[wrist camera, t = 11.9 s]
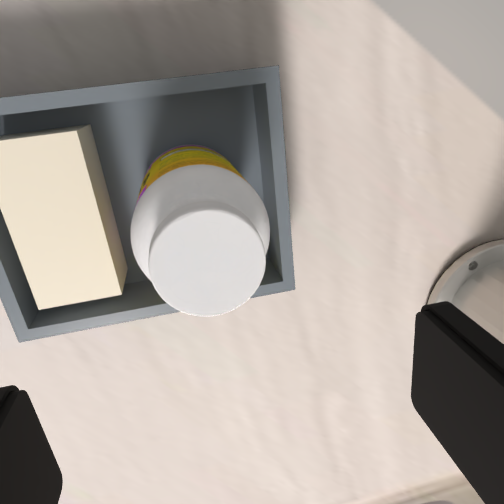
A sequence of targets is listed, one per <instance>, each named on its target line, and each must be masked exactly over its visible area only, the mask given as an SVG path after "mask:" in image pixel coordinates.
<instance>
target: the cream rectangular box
mask: <svg viewBox="0 0 504 504" xmlns="http://www.w3.org/2000/svg"><path fill="white" fill-rule="evenodd" d="M0 209H1V212H2V214H3V217H4V220H5V222H6V225H7V227H8V230H9V233H10V235H11V238H12V241H13V243H14V246H15V249H16V251H17V254H18V257H19V259H20V262H21V264H22V267H23V270H24V272H25V275H26V278H27V280H28V283H29V286H30V288H31V291H32V294H33V296H34V299H35V301H36V304H37V307H38V309H39V310H41V309H47V308H52V307H58V306H63V305H68V304H74V303H79V302H85V301H90V300H96V299H101V298H107V297H112V296H118V295H122V292H123V287H124V283H125V279H126V274H127V270H128V267H127V263H126V259H125V255H124V252H123V248H122V244H121V240H120V236H119V232H118V229H117V225H116V221H115V217H114V213H113V209H112V206H111V202H110V198H109V194H108V190H107V186H106V182H105V179H104V175H103V171H102V167H101V163H100V159H99V156H98V152H97V148H96V144H95V140H94V136H93V133H92V129H91V125H90V124H87V125H79V126H71V127H64V128H56V129H48V130H40V131H32V132H24V133H17V134H9V135H3V136H0Z"/></svg>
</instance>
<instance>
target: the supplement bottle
mask: <svg viewBox="0 0 504 504" xmlns="http://www.w3.org/2000/svg"><path fill="white" fill-rule="evenodd" d="M269 240H270V224H269V218H268V214H267V211H266V208H265V206H264V204H263V202H262V200H261V198H260V197H259V195H258V194H257V193H256V191H255V190H254V189H253V188H252V186H251V185H250V184H249V183H248V182H247V181H246V180H245V179H244V178H243V177H242V175H241V174H240V173H239V172H238V171H237V170H236V169H235V168H234V166H233V165H232V164H231V163H230V162H229V161H228V160H227V159H226V158H225V157H224V156H222V155H221V154H220V153H218V152H216V151H215V150H213V149H210V148H208V147H205V146H201V145H181V146H177V147H174V148H171V149H169V150H167V151H165V152H164V153H162V154H161V155H159V156H158V157H157V158H156V159H155V160H154V161H153V162H152V164H151V165H150V166H149V168H148V170H147V172H146V174H145V176H144V179H143V182H142V185H141V189H140V192H139V196H138V199H137V203H136V207H135V210H134V213H133V217H132V222H131V245H132V250H133V253H134V256H135V259H136V261H137V263H138V265H139V267H140V268H141V270H142V271H143V273H144V274H145V275H146V276H147V278H148V279H149V280H150V281H151V282H152V284H153V286H154V288H155V290H156V291H157V293H158V294H159V295H160V297H161V298H162V299H163V300H164V301H165V302H166V303H167V304H169V305H170V306H171V307H173V308H175V309H176V310H179V311H181V312H183V313H186V314H189V315H194V316H216V315H221V314H224V313H227V312H230V311H232V310H234V309H236V308H238V307H239V306H241V305H242V304H244V303H245V302H246V301H247V300H248V299H249V298H250V297H251V296H252V295H253V294H254V293H255V291H256V290H257V288H258V287H259V285H260V283H261V281H262V278H263V276H264V272H265V266H266V253H267V250H268V246H269Z"/></svg>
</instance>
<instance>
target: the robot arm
mask: <svg viewBox="0 0 504 504" xmlns="http://www.w3.org/2000/svg"><path fill="white" fill-rule="evenodd" d="M411 399H412V403H413V405H414V408H415V409H416V411H417V412H418V414H419V415H420V416H421V418H422V419H423V420H424V422H425V423H426V424H427V426H428V427H429V428H430V430H431V431H432V433H433V434H434V435H435V437H436V438H437V439H438V441H439V442H440V443H441V445H442V446H443V447H444V449H445V450H446V451H447V453H448V454H449V456H450V457H451V458H452V460H453V461H454V462H455V464H456V465H457V466H458V468H459V469H460V470H461V472H462V473H463V474H464V476H465V477H466V478H467V480H468V481H469V483H470V484H471V485H472V487H473V488H474V489H475V491H476V492H477V493H478V495H479V496H480V497H481V499H482V500H483V501H484V503H485V504H504V239H502V240H497V241H491V242H488V243H486V244H483V245H480V246H478V247H476V248H474V249H472V250H471V251H469V252H467V253H465V254H464V255H463V256H461V257H460V258H459V259H458V260H456V261H455V262H454V263H453V264H452V265H451V266H450V267H449V268H448V269H447V270H446V271H445V272H444V274H443V275H442V276H441V278H440V279H439V280H438V282H437V283H436V285H435V287H434V289H433V291H432V293H431V295H430V298H429V301H428V304H427V305H424V306H423V307H422V309H421V312H418V313H417V315H416V321H415V338H414V354H413V371H412V387H411ZM61 490H62V474H61V471H60V468H59V466H58V464H57V461H56V459H55V457H54V454H53V452H52V450H51V447H50V445H49V443H48V440H47V438H46V435H45V433H44V431H43V428H42V426H41V424H40V421H39V419H38V417H37V414H36V412H35V410H34V407H33V405H32V403H31V400H30V398H29V396H28V394H27V392H26V391H25V390H20V391H19V389H18V388H17V387H16V386H13V385H11V386H6V387H1V388H0V504H58V501H59V497H60V494H61Z"/></svg>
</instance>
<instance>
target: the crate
mask: <svg viewBox="0 0 504 504" xmlns="http://www.w3.org/2000/svg"><path fill="white" fill-rule="evenodd" d="M87 124H90V125H91V129H92V133H93V136H94V140H95V144H96V148H97V152H98V156H99V159H100V163H101V167H102V171H103V175H104V179H105V182H106V186H107V190H108V194H109V198H110V202H111V206H112V209H113V213H114V217H115V221H116V225H117V229H118V232H119V236H120V240H121V244H122V248H123V252H124V255H125V259H126V263H127V267H128V270H127V274H126V279H125V283H124V287H123V292H122V295H118V296H112V297H107V298H101V299H96V300H90V301H85V302H79V303H74V304H68V305H63V306H58V307H52V308H47V309H41V310H39V309H38V307H37V304H36V301H35V299H34V296H33V294H32V291H31V288H30V286H29V283H28V280H27V278H26V275H25V272H24V270H23V267H22V264H21V262H20V259H19V257H18V254H17V251H16V249H15V246H14V243H13V241H12V238H11V235H10V233H9V230H8V227H7V225H6V222H5V220H4V217H3V214H2V212H1V209H0V298H1V301H2V303H3V306H4V308H5V310H6V313H7V315H8V317H9V320H10V322H11V325H12V327H13V329H14V332H15V334H16V337H17V339H18V341H19V342H25V341H30V340H35V339H40V338H45V337H51V336H56V335H61V334H66V333H72V332H77V331H82V330H87V329H92V328H98V327H103V326H108V325H113V324H118V323H124V322H129V321H134V320H139V319H145V318H150V317H155V316H160V315H165V314H171V313H176V312H181V311H179V310H176V309H175V308H173V307H171V306H170V305H169V304H167V303H166V302H165V301H164V300H163V299H162V298H161V297H160V295H159V294H158V293H157V291H156V290H155V288H154V286H153V284H152V282H151V281H150V280H149V279H148V278H147V276H146V275H145V274H144V273H143V271H142V270H141V268H140V267H139V265H138V263H137V261H136V259H135V256H134V253H133V250H132V245H131V222H132V217H133V213H134V210H135V207H136V203H137V199H138V196H139V192H140V189H141V185H142V182H143V179H144V176H145V174H146V172H147V170H148V168H149V166H150V165H151V164H152V162H153V161H154V160H155V159H156V158H157V157H158V156H159V155H161V154H162V153H164V152H165V151H167V150H169V149H171V148H174V147H177V146H181V145H201V146H205V147H208V148H210V149H213V150H215V151H216V152H218V153H220V154H221V155H222V156H224V157H225V158H226V159H227V160H228V161H229V162H230V163H231V164H232V165H233V166H234V168H235V169H236V170H237V171H238V172H239V173H240V174H241V175H242V177H243V178H244V179H245V180H246V181H247V182H248V183H249V184H250V185H251V186H252V188H253V189H254V190H255V191H256V193H257V194H258V195H259V197H260V198H261V200H262V202H263V204H264V206H265V208H266V211H267V214H268V218H269V224H270V240H269V246H268V250H267V253H266V266H265V272H264V276H263V278H262V281H261V283H260V285H259V287H258V288H257V290H256V291H255V293H254V294H253V295H252V296H251V297H250V298H254V297H259V296H264V295H270V294H275V293H280V292H285V291H290V290H295V279H294V266H293V252H292V238H291V225H290V211H289V198H288V184H287V171H286V157H285V143H284V130H283V116H282V103H281V89H280V76H279V65H278V66H270V67H261V68H252V69H244V70H235V71H227V72H218V73H209V74H201V75H192V76H184V77H175V78H166V79H158V80H149V81H141V82H132V83H123V84H115V85H106V86H98V87H89V88H80V89H72V90H63V91H55V92H46V93H37V94H29V95H20V96H12V97H3V98H0V136H3V135H9V134H17V133H24V132H32V131H40V130H48V129H56V128H64V127H71V126H79V125H87Z"/></svg>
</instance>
